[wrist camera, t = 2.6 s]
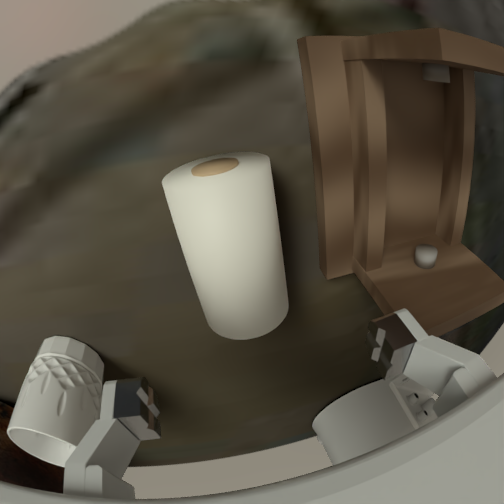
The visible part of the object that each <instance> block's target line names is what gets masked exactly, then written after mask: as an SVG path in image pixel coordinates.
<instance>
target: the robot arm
mask: <svg viewBox="0 0 504 504" xmlns="http://www.w3.org/2000/svg"><path fill="white" fill-rule="evenodd" d="M368 329H369V331H370V332H369V333H368V334H367V336H366V341H365V343H366V349H367V352H368V354H369V356H370V357H371V359H373V360H375V361H377V367H376V368H377V369H378V371H379V373H380V374H381V376H382V378H383V379H381V380H379V381H376V382H373V383H370V384H368V385H365V386H363V387H360V388H358V389H356V390H354V391H352V392H350V393H348V394H346V395H344V396H342V397H341V398H339V399H337V400H336V401H334V402H333V403H331V404H330V405H329V406H327V407H326V408H325V409H323V410H322V411H321V412H320V413H319V414H318V415H317V417H316V418H315V419H314V421H313V424H312V427H313V429H314V431H315V432H316V434H317V435H318V436H317V439H318V441H319V443H320V444H323V446H324V448H325V450H326V452H327V454H328V456H329V458H330V460H331V462H332V464H333V466H330V467H328V468H324V469H322V470H318V471H315V472H312V473H309V474H306V475H302V476H298V477H295V478H291V479H287V480H283V481H279V482H275V483H272V484H267V485H262V486H258V487H253V488H248V489H242V490H237V491H231V492H225V493H218V494H210V495H203V496H193V497H181V498H165V499H135V492H134V487H133V486H132V485H130V484H128V483H127V482H125V481H123V480H122V477H123V475H124V473H125V471H126V469H127V467H128V465H129V463H130V461H131V459H132V457H133V455H134V453H135V451H136V449H137V447H138V445H139V443H140V440H149V439H158V438H161V426H160V422H159V420H158V419H157V418H156V417H157V416H158V414H159V413H160V405H159V400H158V397H157V394H156V392H155V391H154V389H152V388H150V387H149V382H148V381H147V379H146V378H145V377H140V378H131V379H122V380H113V381H106V382H105V384H104V386H103V394H102V402H101V412H100V420H96V421H95V422H94V424H93V425H92V426H91V428H90V429H89V431H88V432H87V433H86V435H85V436H84V437H83V439H82V440H81V442H80V443H79V444H78V446H77V447H76V448H75V450H74V451H73V453H72V454H71V455H70V457H69V458H68V460H67V461H66V462H65V471H64V487H63V494H60V493H54V492H48V491H42V490H37V489H32V488H27V487H23V486H19V485H15V484H11V483H7V482H4V481H0V504H504V373H503V374H502V375H501V376H499V377H498V378H497V377H496V376H495V374H494V373H493V372H492V370H491V369H490V368H489V367H488V365H487V364H486V363H485V361H484V360H483V359H482V358H481V356H480V355H478V354H476V353H473V352H471V351H468V350H466V349H464V348H461V347H459V346H457V345H454V344H452V343H449V342H447V341H445V340H442V339H440V338H438V337H435V336H433V335H431V336H428V335H427V333H426V332H425V331H424V330H423V328H422V327H421V326H420V325H419V323H418V322H417V321H416V320H415V318H414V317H413V316H412V315H411V314H410V312H409V311H408V310H407V309H405V308H404V309H401V310H398V311H396V312H393V313H390V314H387V315H384V316H382V317H379V318H376V319H374V320H371V321H370V322H369V324H368ZM434 393H435V394H437V395H439V397H438V399H437V400H436V401H435V400H434V399H433V398H430V397H431V396H432V395H433V394H434Z"/></svg>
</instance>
